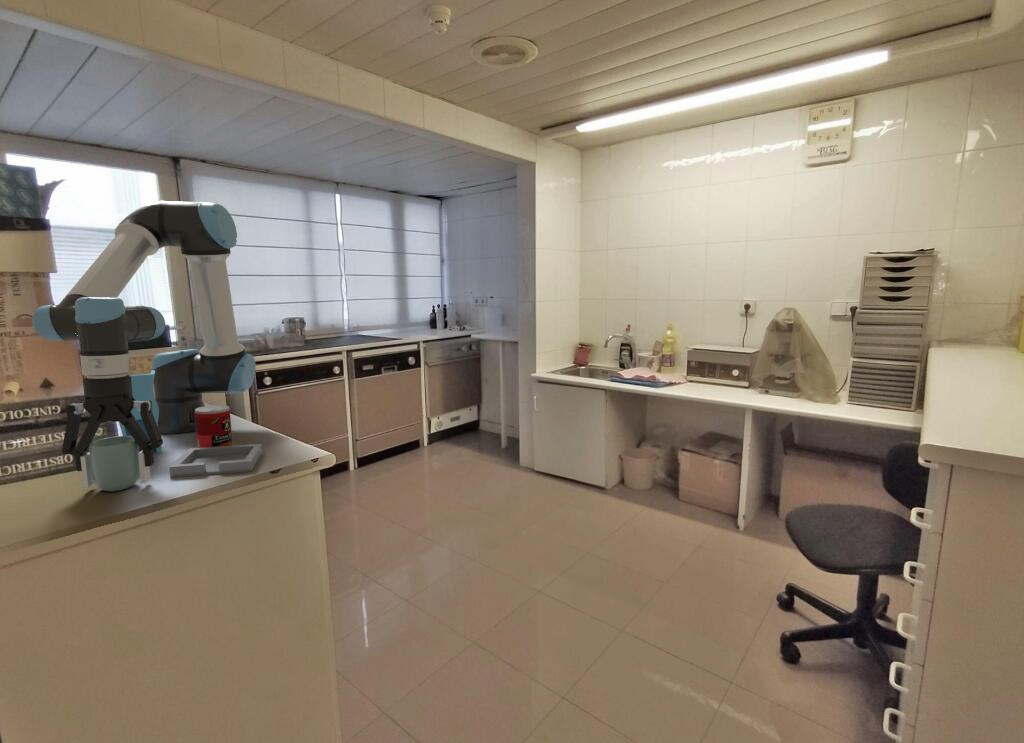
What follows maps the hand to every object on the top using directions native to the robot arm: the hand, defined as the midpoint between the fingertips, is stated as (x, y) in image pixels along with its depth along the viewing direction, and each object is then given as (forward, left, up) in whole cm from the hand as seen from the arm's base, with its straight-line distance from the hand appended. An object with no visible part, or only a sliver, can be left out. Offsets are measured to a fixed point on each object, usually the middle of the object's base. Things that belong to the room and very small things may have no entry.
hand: (118, 483), depth 102 cm
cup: (0, 0, -1) cm, 1 cm away
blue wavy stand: (-27, -5, -1) cm, 27 cm away
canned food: (-24, +12, -1) cm, 27 cm away
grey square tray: (-11, +16, -1) cm, 19 cm away
